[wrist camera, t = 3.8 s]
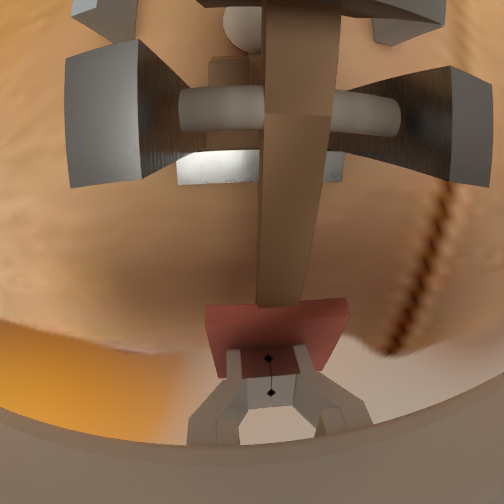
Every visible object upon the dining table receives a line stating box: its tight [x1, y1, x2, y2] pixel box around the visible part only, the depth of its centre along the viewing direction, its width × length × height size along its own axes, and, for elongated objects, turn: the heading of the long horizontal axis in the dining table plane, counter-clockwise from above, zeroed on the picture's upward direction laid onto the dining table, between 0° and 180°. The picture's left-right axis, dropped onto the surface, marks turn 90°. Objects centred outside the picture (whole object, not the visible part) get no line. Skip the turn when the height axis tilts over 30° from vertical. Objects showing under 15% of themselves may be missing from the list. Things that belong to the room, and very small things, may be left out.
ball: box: [223, 7, 262, 53], centre depth 10 cm, size 4×4×4 cm
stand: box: [64, 39, 493, 188], centre depth 9 cm, size 8×4×10 cm, turn 91°
